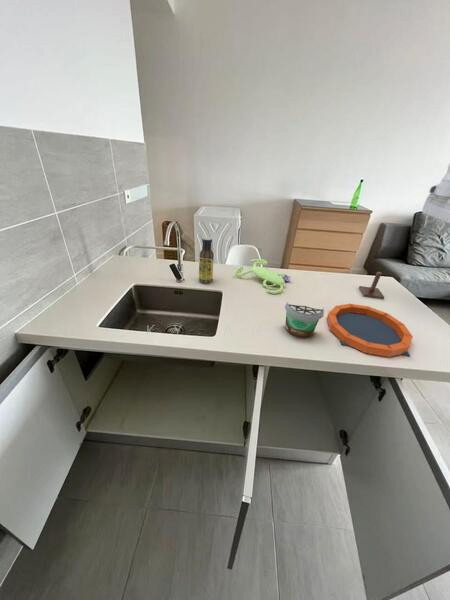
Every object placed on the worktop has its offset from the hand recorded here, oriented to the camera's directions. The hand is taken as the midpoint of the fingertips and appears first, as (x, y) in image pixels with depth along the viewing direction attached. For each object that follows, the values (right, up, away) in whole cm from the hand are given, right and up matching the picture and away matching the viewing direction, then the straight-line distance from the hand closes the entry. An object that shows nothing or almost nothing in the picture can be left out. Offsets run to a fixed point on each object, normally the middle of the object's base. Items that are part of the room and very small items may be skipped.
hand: (432, 231), depth 91 cm
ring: (-29, -36, -7) cm, 47 cm away
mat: (-29, -37, -7) cm, 47 cm away
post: (-13, -23, +17) cm, 31 cm away
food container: (-53, -37, -10) cm, 66 cm away
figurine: (-60, -16, +24) cm, 67 cm away
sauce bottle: (-87, -17, +20) cm, 90 cm away
